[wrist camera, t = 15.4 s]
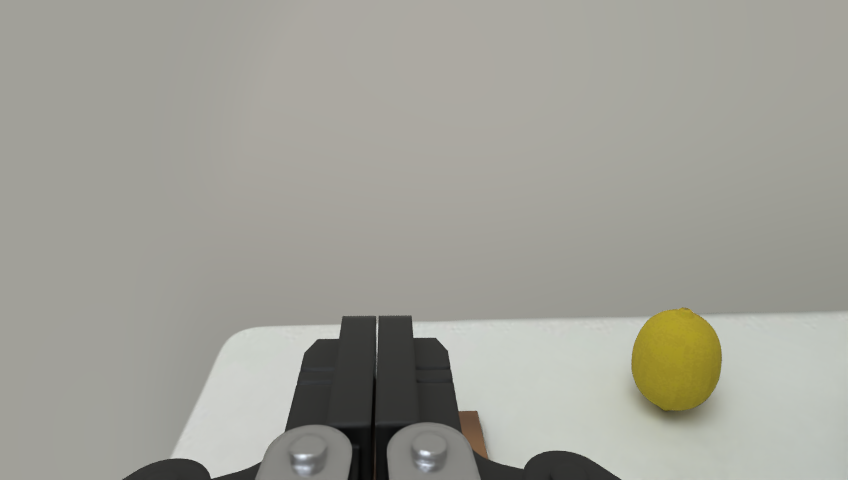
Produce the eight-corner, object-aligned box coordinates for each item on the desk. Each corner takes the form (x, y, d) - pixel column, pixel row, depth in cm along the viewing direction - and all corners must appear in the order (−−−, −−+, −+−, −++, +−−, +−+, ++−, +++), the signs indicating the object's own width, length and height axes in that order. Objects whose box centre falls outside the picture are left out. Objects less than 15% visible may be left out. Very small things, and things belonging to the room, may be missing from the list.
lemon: (719, 408, 40) (744, 309, 37) (690, 448, 36) (716, 340, 33) (643, 376, 43) (660, 282, 40) (610, 409, 39) (626, 308, 36)
